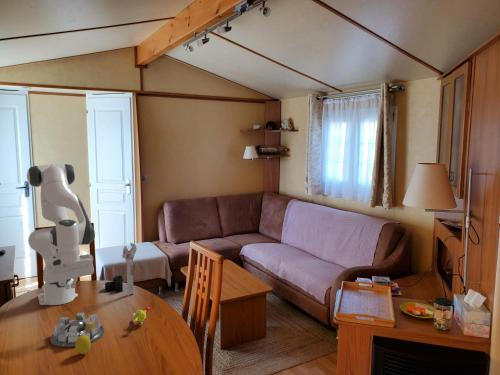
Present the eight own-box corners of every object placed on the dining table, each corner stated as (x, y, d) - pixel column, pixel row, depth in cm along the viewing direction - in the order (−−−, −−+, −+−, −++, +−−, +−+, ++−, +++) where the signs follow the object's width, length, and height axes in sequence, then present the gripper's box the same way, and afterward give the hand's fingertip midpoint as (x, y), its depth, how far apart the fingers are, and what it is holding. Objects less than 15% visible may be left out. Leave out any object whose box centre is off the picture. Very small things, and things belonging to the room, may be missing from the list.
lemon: (78, 351, 155) (77, 331, 154) (92, 350, 156) (92, 331, 155) (73, 358, 150) (72, 338, 149) (88, 357, 150) (87, 337, 149)
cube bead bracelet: (44, 339, 162) (43, 326, 162) (75, 321, 179) (74, 309, 179) (80, 345, 157) (79, 332, 156) (108, 326, 174) (108, 314, 174)
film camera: (105, 288, 227) (104, 273, 226) (122, 286, 230) (122, 271, 229) (105, 297, 212) (104, 281, 212) (124, 295, 216) (123, 279, 215)
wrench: (124, 299, 209) (122, 244, 206) (122, 299, 210) (120, 244, 208) (138, 296, 214) (136, 242, 212) (136, 295, 216) (134, 241, 213)
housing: (43, 335, 169) (43, 321, 168) (92, 320, 183) (92, 308, 182) (60, 353, 153) (59, 338, 153) (111, 336, 168) (111, 322, 167)
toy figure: (143, 316, 188) (142, 302, 188) (154, 317, 187) (153, 303, 187) (124, 333, 171) (124, 318, 170) (136, 334, 170) (135, 319, 169)
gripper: (90, 252, 180) (91, 281, 181) (41, 260, 166) (43, 292, 167) (95, 254, 175) (96, 284, 176) (46, 263, 161) (47, 296, 162)
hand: (70, 288), depth 172 cm, fingers closed
